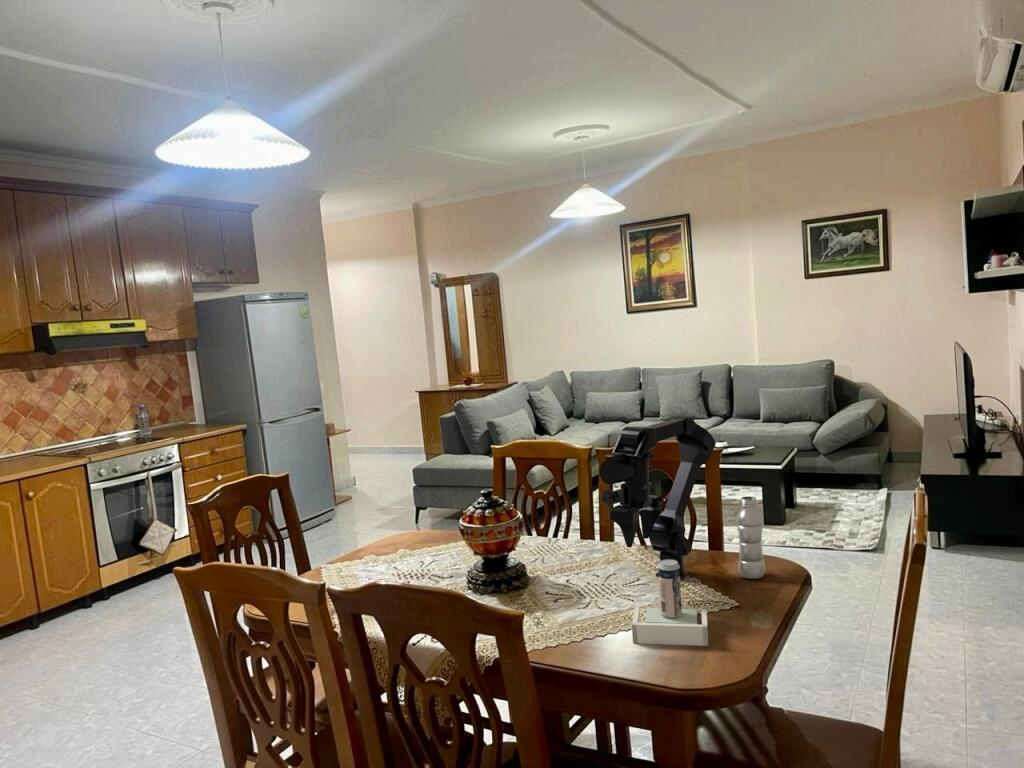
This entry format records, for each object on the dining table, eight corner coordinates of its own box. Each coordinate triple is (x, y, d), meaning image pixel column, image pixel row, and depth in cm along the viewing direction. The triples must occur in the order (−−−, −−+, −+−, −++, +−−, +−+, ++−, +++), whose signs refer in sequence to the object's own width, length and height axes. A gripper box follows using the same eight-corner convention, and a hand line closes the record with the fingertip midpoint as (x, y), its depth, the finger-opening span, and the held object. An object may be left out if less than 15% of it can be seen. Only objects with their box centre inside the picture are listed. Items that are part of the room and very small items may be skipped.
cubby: (635, 624, 160) (634, 606, 159) (707, 626, 156) (706, 608, 156) (632, 643, 151) (631, 624, 151) (708, 645, 147) (707, 626, 147)
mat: (646, 610, 167) (646, 607, 167) (696, 611, 164) (696, 609, 164) (645, 624, 159) (645, 621, 159) (697, 626, 157) (697, 623, 157)
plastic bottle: (738, 581, 180) (735, 501, 178) (738, 571, 186) (735, 494, 185) (766, 582, 178) (763, 502, 176) (765, 572, 185) (762, 494, 183)
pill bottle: (682, 619, 159) (679, 565, 158) (660, 619, 160) (657, 565, 159) (682, 610, 164) (679, 558, 163) (660, 610, 165) (657, 558, 164)
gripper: (623, 470, 189) (624, 530, 190) (588, 482, 174) (589, 547, 175) (664, 473, 183) (665, 535, 184) (631, 486, 168) (632, 554, 169)
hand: (637, 542), depth 178 cm, fingers open, 9 cm apart
